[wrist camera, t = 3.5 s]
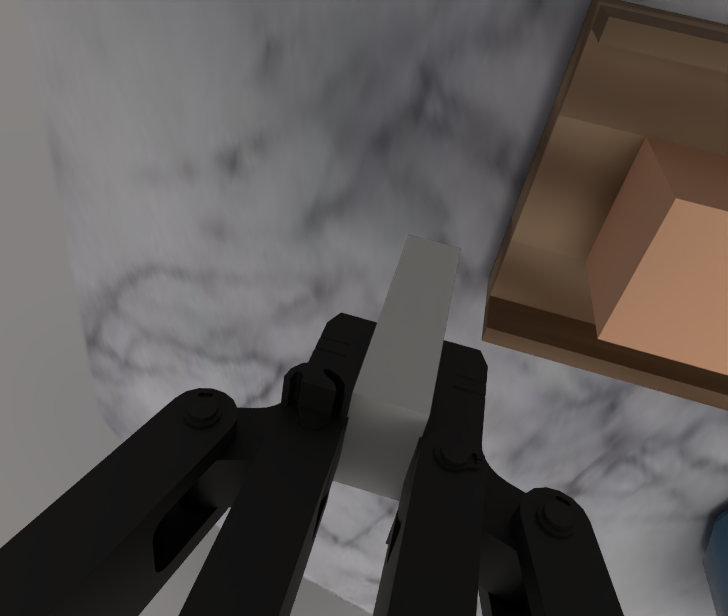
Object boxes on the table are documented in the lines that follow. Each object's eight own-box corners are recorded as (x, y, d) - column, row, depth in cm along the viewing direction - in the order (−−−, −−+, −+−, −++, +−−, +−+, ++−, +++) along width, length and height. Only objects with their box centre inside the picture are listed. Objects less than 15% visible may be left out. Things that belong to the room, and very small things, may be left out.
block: (645, 136, 21) (675, 198, 17) (799, 174, 21) (870, 248, 16) (585, 260, 24) (597, 338, 20) (716, 295, 24) (757, 383, 19)
